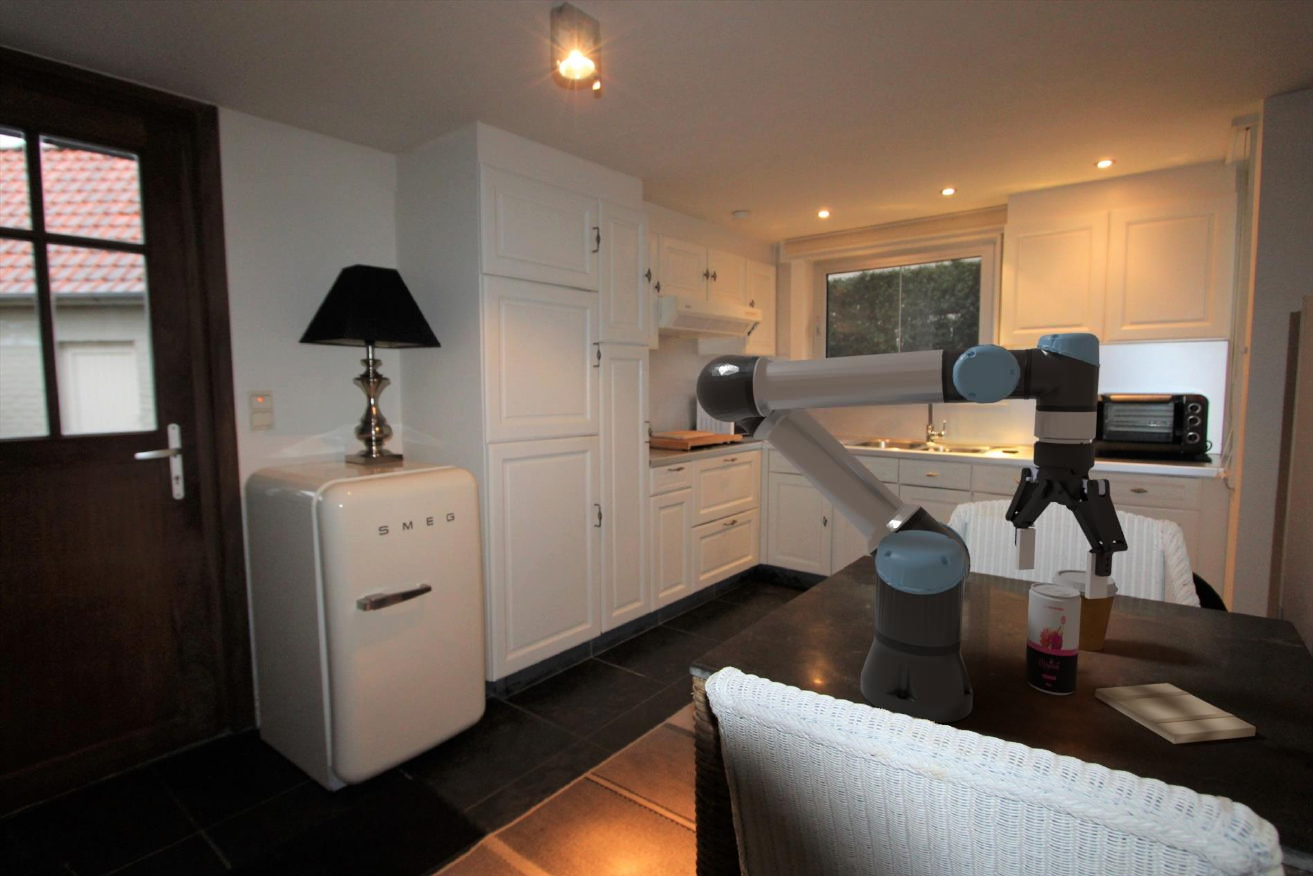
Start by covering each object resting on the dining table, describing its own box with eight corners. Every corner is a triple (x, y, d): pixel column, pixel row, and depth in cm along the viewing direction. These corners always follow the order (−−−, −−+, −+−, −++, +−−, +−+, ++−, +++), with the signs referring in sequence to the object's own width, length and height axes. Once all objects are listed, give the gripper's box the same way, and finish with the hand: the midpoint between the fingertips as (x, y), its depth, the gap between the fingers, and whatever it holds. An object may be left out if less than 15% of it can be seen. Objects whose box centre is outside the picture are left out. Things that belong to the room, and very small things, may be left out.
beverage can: (1056, 700, 90) (1062, 599, 89) (1014, 680, 96) (1019, 585, 95) (1085, 691, 93) (1091, 593, 91) (1043, 672, 99) (1048, 580, 97)
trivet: (1174, 743, 79) (1174, 734, 79) (1095, 696, 91) (1095, 688, 91) (1254, 735, 81) (1255, 726, 81) (1167, 690, 93) (1167, 682, 93)
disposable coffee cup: (1125, 657, 104) (1130, 587, 103) (1062, 652, 106) (1066, 583, 105) (1097, 634, 113) (1101, 570, 112) (1039, 630, 115) (1043, 567, 114)
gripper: (1167, 448, 79) (1157, 610, 81) (1025, 433, 104) (1020, 558, 106) (1115, 449, 78) (1106, 614, 80) (984, 434, 103) (980, 560, 105)
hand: (1057, 582), depth 93 cm, fingers open, 13 cm apart
